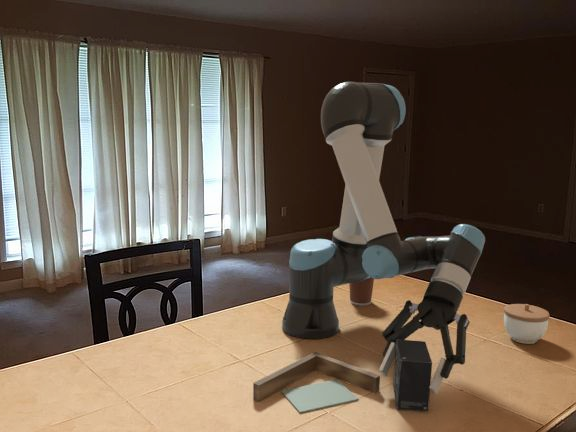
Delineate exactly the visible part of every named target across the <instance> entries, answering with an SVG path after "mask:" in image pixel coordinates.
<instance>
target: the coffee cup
mask: <svg viewBox="0 0 576 432" xmlns="http://www.w3.org/2000/svg"><path fill="white" fill-rule="evenodd" d="M374 281H375V279H373V278H371V277H370V278H368V279H365V280H363V281H360V282H353V283H348V285H349V302H350V304H353V305H355V306H359V307H360V306H368V305H369V306H370V305H371V304H372V298H373V297H372V296H373V292H374V291H373V290H374V284H375V283H374Z"/></svg>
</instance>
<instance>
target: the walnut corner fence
mask: <svg viewBox="0 0 576 432" xmlns="http://www.w3.org/2000/svg"><path fill="white" fill-rule="evenodd" d="M314 372H318V373H322V374H325V375H327V376H328V377H332V378H334V379H337V380H338V381H342V382H344V383H347V384H349V385H352V386H354V387H358V388H359V389H362V390H365V391H367V392H369V393H372V394H378V393H379V392H380V389H381V387H380V385H381V383H380V382H381V375H380V374H377V373H375V372H372V371H369V370H366V369H363V368H361V367H359V366H355V365H353V364H349V363H347V362H345V361H342V360H339V359H336V358H333V357H331V356H328V355H326V354H322V353H319V352H317V351H315V352H312V353H310V354H308V355H306V356H304V357H302V358H300V359H298V360H296V361H295V362H292V363H290V364H288V365H287V366H284V367H283V368H281V369H278V370H276V371H274V372H272V373H271V374H269V375H266V376H264V377H262V378H260V379H258V380H256V381H255V382H253V385H252V387H253V389H252V391H253V393H252V394H253V395H252V396H253V400H254V401H256V402H261V401H263V400H264V399H266V398H269V397H270V396H272V395H274V394H276V393H278V392H279V391H281V390H284V389H286V387H288V386H290V385H292V384H294V383H296V382H298V381H299V380H302V379H303V378H305V377H307V376H308V375H310V374H313V373H314Z"/></svg>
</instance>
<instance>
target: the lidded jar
mask: <svg viewBox="0 0 576 432" xmlns="http://www.w3.org/2000/svg"><path fill="white" fill-rule="evenodd" d="M549 320H550V313H549V311H548V310H546V309H544V308H543V307H542V308H541V307H539V306H537V305H536V306H535V305H531V304H528V303H511V304H507V305H505V307H504V308H503V324H504V329H505V332H507V335H509V336H510V338H511V340H512V341H514V342H516V343H521V344H525V345H533V344H535V343H537V342H538V341H539V340H541V339H542V338H543V337H544V335H545V334H546V332H547V329H548V325H549Z"/></svg>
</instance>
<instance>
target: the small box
mask: <svg viewBox="0 0 576 432" xmlns="http://www.w3.org/2000/svg"><path fill="white" fill-rule="evenodd" d="M429 352H430V351H429V349H428V345H427V343H426V341H422V340H421V341H420V340H409V339H405V340H402V339H396V357H395V359H394V372H393V381H392V382H393V383H392V386H393V387H392V388H393V394H394V399H395V407H396V410H402V411H403V410H404V411H413V412H414V411H416V412H429V406H430V394H431V393H430V392H431V390H430V388H429V387H430V384H431V381H432V370H433V369H432V368H433V361H432V359H431V358H432V357H431V355H430V353H429Z"/></svg>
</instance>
